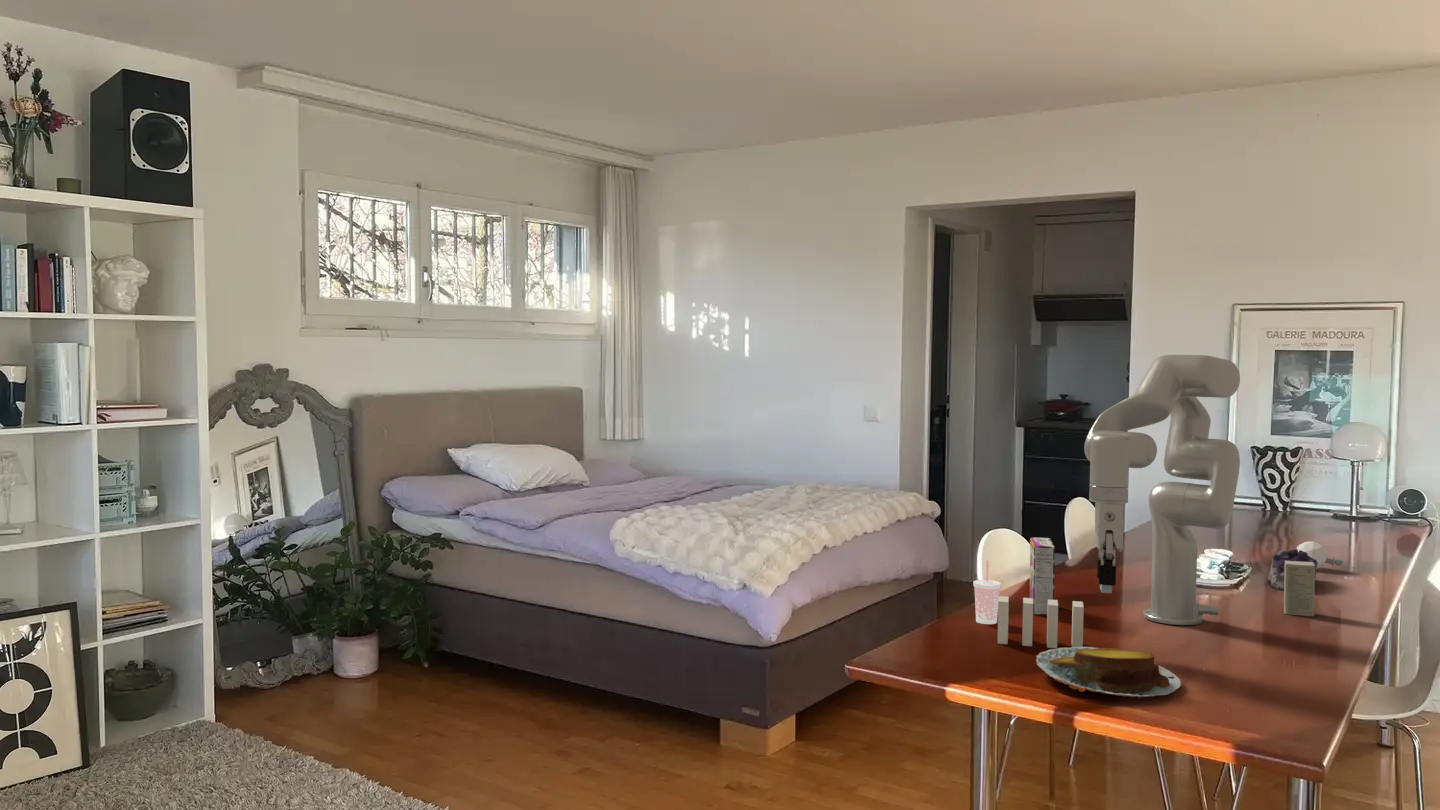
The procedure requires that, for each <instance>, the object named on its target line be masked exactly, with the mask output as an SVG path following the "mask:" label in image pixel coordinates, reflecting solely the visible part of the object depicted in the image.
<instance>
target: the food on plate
mask: <svg viewBox="0 0 1440 810" xmlns="http://www.w3.org/2000/svg"><path fill="white" fill-rule="evenodd" d="M1035 657H1036V659H1035V661H1036V666H1038V667H1039V668H1040V669H1041V670H1042V671H1043V672H1045V674H1047V675H1048V677H1049V678H1050V677H1051V678H1053V679H1054V681H1057V682H1059V683H1063V684H1064V685H1068V687H1069V688H1070V689H1073V690H1078V692H1081V693H1083V692H1085V691H1089V692H1094V693H1099V694H1107V695H1111V696H1117V697H1119V696H1120V697H1126V698H1127V697H1129V698H1132V697H1133V698H1135V697H1137V698H1140V699H1141V698H1143V697H1155V696H1167V695H1170V694H1171V693H1175V692H1176V691H1177V690H1178V689H1179V688H1181V686H1183V685H1182V679H1180V677H1178V676H1177V675H1176V674H1174V673H1173V672H1171V671H1170V670H1169V669H1166V668H1165V667H1162V666H1161V665H1159V664H1158V663H1157V662H1155V656H1154V654H1152V652H1148V651H1139V650H1123V649H1119V648H1114V647H1094V646H1093V647H1092V646H1083V647H1072V646H1071V647H1057V648H1050V649H1048V650H1045V651H1041V652H1039V653H1038V654H1037V655H1035ZM1171 677H1173V678H1171Z"/></svg>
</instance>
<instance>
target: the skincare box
mask: <svg viewBox="0 0 1440 810" xmlns="http://www.w3.org/2000/svg"><path fill="white" fill-rule="evenodd" d="M1315 579H1316V578H1315V565H1314V563H1313V562H1302V561H1286V560H1285V571H1284V591H1283V612H1284V614H1285V615H1293V616H1301V617H1302V616H1303V617H1315V596H1316V595H1315V588H1316V587H1315V585H1316V584H1315V583H1316V580H1315Z"/></svg>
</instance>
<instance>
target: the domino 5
mask: <svg viewBox="0 0 1440 810" xmlns="http://www.w3.org/2000/svg"><path fill="white" fill-rule="evenodd" d="M1103 550H1106V548H1104V547H1103ZM1104 554H1106V553H1104ZM1099 590H1100V593H1102V594H1112V593H1113V585H1100V584H1099Z"/></svg>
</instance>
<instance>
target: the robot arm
mask: <svg viewBox="0 0 1440 810" xmlns="http://www.w3.org/2000/svg"><path fill="white" fill-rule="evenodd" d="M1240 383H1241V374H1240V371H1239V369H1238V366H1237V365H1236V364H1235V362H1233V361H1232V360H1229V359H1226V358H1225V359H1224V358H1220V357H1217V356H1210V355H1204V354H1165V355H1161V356H1159V357H1157V358H1155V359H1154V360H1153V362H1152V363H1151V364H1150V366H1149V368H1148V369H1147V371H1146V372H1145V375H1144V376H1143V378H1142V380H1141V381H1140V383H1139V385H1138V387H1137V388H1136V390H1135V392H1134V394H1133V395H1131V396H1130V397H1127V398H1125V399H1123V400H1120V402H1117V403H1116V404H1114V405H1112V406H1110V407H1109V408H1107V409H1106V410H1103V412H1102V413H1100V414H1099V415H1098V417H1097V418H1096V419H1095V421H1094V422H1093V425H1092V426H1091V428H1090V429H1089V431H1088V432H1087V433H1088V434H1087V436H1086V438H1085V441H1084V446H1083V447H1084V454H1085V457H1086V459H1087V460H1088V461H1089V464H1090V465H1089V491H1088V492H1089V493H1088V496H1089V497H1088V501H1090V502H1093V503H1094V504H1095V505H1094V535H1095V545H1096V548H1097V550H1098V559H1097V567H1096V569H1097V570H1096V571H1097V573H1096V576H1097V577H1096V578H1097V579H1098V584H1099V586H1100V585H1112V587H1114V586H1116V582H1117V579H1116V578H1117V565H1116V550H1117V551H1119V553H1122V552H1123V551H1124V507H1123V506H1124V504H1127V503H1129V483H1130V482H1129V480H1130V479H1129V477H1130V469H1143V468H1147V467H1148V466H1150V465H1151V464H1152V463H1153V462H1154V461H1155V460H1156V457H1157V454H1158V446H1157V443H1156V441H1155V440H1154V438H1153V437H1152V436H1150V435H1149V434H1147V433H1144V432H1138V431H1137V432H1136V431H1130V430H1135V429H1138V428H1140V429H1141V428H1144V427H1147V426H1151V425H1154V424H1158V423H1161V422H1163V421H1165V420H1166V419H1168V417H1170V422H1169V423H1170V424H1169V429H1168V433H1167V440H1166V445H1165V449H1164V458H1163V467H1164V470H1165V472H1166V473H1167V474H1169V476H1172V477H1176V478H1179V479H1180V478H1181V479H1190V480H1199V481H1200V480H1201V481H1210V484H1198V483H1194V482H1193V483H1192V482H1191V483H1190V482H1179V481H1164V482H1159V483H1157V484H1156V485H1154V486H1153V487H1152V489H1151V490H1150V492H1149V495H1148V507H1149V513H1150V519H1151V527H1152V528H1151V530H1152V533H1151V535H1152V544H1151V545H1152V547H1151V548H1152V549H1151V583H1150V585H1151V587H1150V590H1151V591H1150V607H1149V608H1145V609H1144V610H1143V611H1142V614H1143V617H1144V618H1145V619H1147V620H1150V621H1152V622H1156V623H1160V624H1165V625H1172V626H1174V625H1175V626H1194V625H1195V626H1196V625H1199V624H1202V623H1203V622H1204V621H1203V619H1204V617H1203V616H1204V615H1211V616H1219V607H1218V606H1215V605H1214V606H1213V605H1211V604H1201V603H1199V602H1198V600H1197V575H1198V574H1197V573H1198V571H1197V569H1198V568H1197V567H1198V542H1197V539H1196V538H1195V536H1194V533H1193V532H1192V530H1191V529H1190V526H1192V527H1199V528H1206V529H1207V528H1208V529H1223V528H1225V527H1226V526H1227V525H1228V524H1229V522H1230V521H1231V519H1232V514H1233V510H1234V505H1235V499H1236V492H1237V488H1238V480H1239V476H1240V468H1241V467H1240V466H1241V457H1240V451H1239V449H1238V446H1237V445H1236V444H1234V443H1233V442H1232V441H1230V440H1226V439H1219V438H1209V437H1210V436H1209V434H1210V429H1211V424H1212V423H1211V420H1212V419H1211V416H1210V414H1209V412H1208V411H1207V408H1206V407H1205V406H1204V405H1203V404H1202V402H1201V401H1200V400H1199V399H1198V398H1215V399H1216V398H1219V399H1224V398H1225V399H1226V398H1231V397H1232V396H1234V395H1235V394H1236V393H1237V391H1238V389H1239V387H1240ZM1103 547H1104V548H1106V550H1103ZM1104 553H1106V554H1104Z"/></svg>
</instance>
